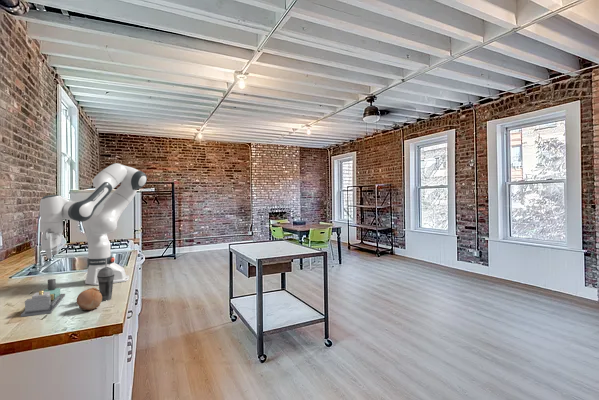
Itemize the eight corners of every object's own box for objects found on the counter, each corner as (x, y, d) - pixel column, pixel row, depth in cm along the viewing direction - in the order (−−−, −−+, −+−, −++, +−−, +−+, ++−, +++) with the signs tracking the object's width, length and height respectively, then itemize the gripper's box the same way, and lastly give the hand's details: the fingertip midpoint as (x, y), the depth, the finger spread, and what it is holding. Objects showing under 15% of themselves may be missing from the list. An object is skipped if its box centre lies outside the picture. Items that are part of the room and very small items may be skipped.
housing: (46, 308, 136) (46, 291, 136) (32, 310, 134) (32, 293, 134) (49, 304, 140) (49, 288, 140) (35, 306, 138) (35, 290, 138)
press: (65, 295, 156) (65, 283, 156) (50, 313, 133) (50, 299, 133) (39, 298, 152) (39, 286, 152) (20, 317, 129) (20, 302, 128)
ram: (60, 294, 155) (60, 278, 155) (54, 300, 146) (54, 283, 146) (45, 295, 153) (45, 279, 153) (38, 302, 143) (38, 285, 143)
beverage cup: (96, 302, 146) (96, 260, 146) (97, 298, 153) (98, 257, 153) (114, 300, 150) (114, 259, 149) (115, 296, 156) (115, 256, 156)
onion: (94, 312, 142) (101, 290, 146) (101, 311, 136) (108, 288, 141) (70, 310, 136) (78, 286, 140) (76, 309, 130) (85, 284, 134)
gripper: (53, 229, 144) (54, 259, 144) (64, 225, 162) (64, 252, 163) (36, 230, 141) (37, 261, 141) (49, 226, 159) (49, 253, 160)
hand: (52, 256), depth 152 cm, fingers open, 8 cm apart
